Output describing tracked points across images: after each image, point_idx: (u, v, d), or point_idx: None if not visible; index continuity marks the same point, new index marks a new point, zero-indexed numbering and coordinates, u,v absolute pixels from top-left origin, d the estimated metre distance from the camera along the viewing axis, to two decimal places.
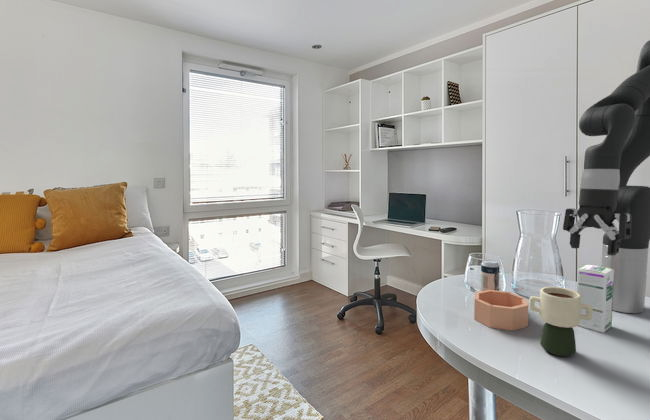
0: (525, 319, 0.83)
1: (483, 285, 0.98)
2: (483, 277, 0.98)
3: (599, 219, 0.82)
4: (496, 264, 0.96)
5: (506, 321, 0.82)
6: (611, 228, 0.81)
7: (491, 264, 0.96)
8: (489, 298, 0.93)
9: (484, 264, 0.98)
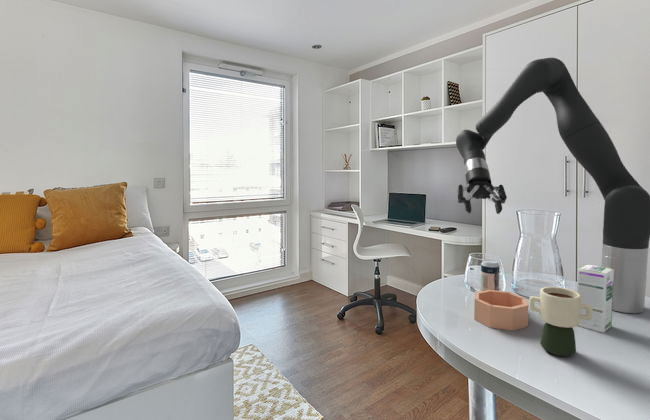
0: (525, 319, 0.83)
1: (483, 285, 0.98)
2: (483, 277, 0.98)
3: None
4: (496, 264, 0.96)
5: (506, 321, 0.82)
6: None
7: (491, 264, 0.96)
8: (489, 298, 0.93)
9: (484, 264, 0.98)
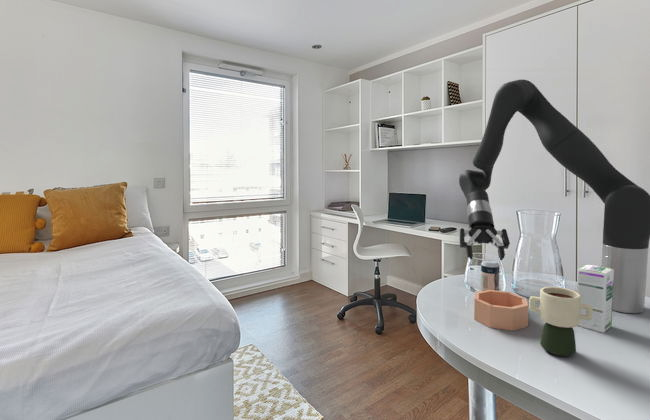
0: (525, 319, 0.83)
1: (483, 285, 0.98)
2: (483, 277, 0.98)
3: None
4: (496, 264, 0.96)
5: (506, 321, 0.82)
6: None
7: (491, 264, 0.96)
8: (489, 298, 0.93)
9: (484, 264, 0.98)
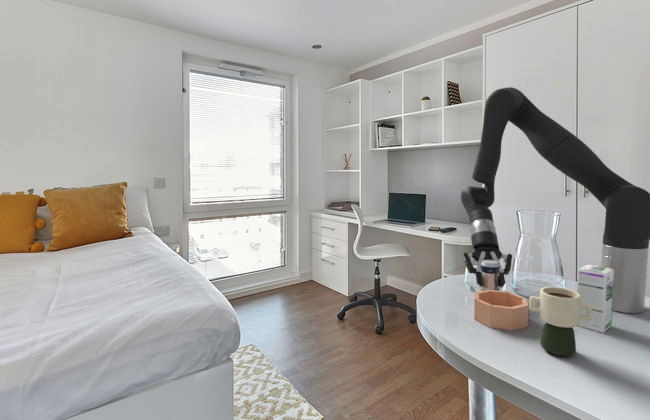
0: (525, 319, 0.83)
1: (483, 285, 0.98)
2: (483, 277, 0.98)
3: None
4: (496, 264, 0.96)
5: (506, 321, 0.82)
6: None
7: (491, 264, 0.96)
8: (489, 298, 0.93)
9: (484, 264, 0.98)
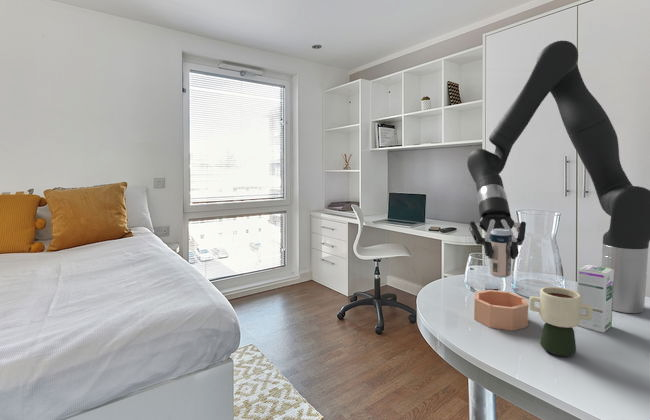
0: (525, 319, 0.83)
1: (493, 257, 0.86)
2: (493, 247, 0.86)
3: None
4: (508, 232, 0.84)
5: (506, 321, 0.82)
6: None
7: (502, 232, 0.84)
8: (489, 298, 0.93)
9: (494, 232, 0.85)
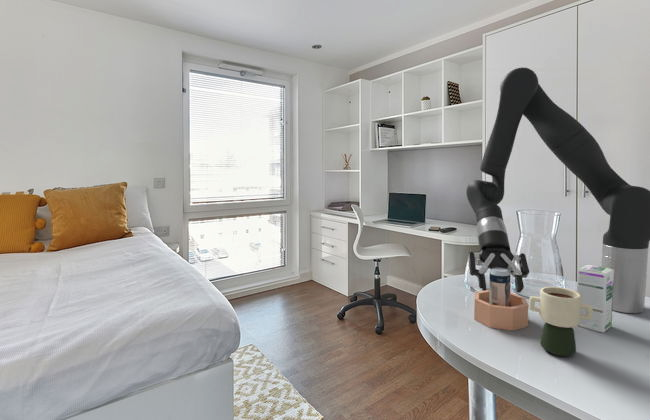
0: (525, 319, 0.83)
1: (492, 296, 0.87)
2: (492, 287, 0.87)
3: None
4: (507, 272, 0.85)
5: (506, 321, 0.82)
6: None
7: (501, 272, 0.85)
8: (489, 298, 0.93)
9: (493, 272, 0.86)
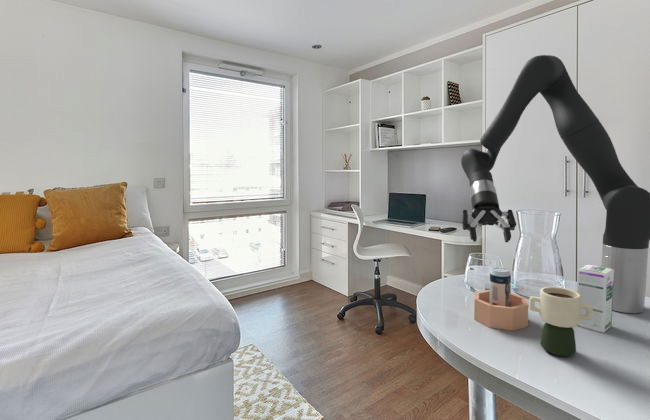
0: (525, 319, 0.83)
1: (492, 297, 0.87)
2: (492, 288, 0.87)
3: None
4: (507, 273, 0.85)
5: (506, 321, 0.82)
6: None
7: (501, 273, 0.85)
8: (489, 298, 0.93)
9: (493, 273, 0.86)
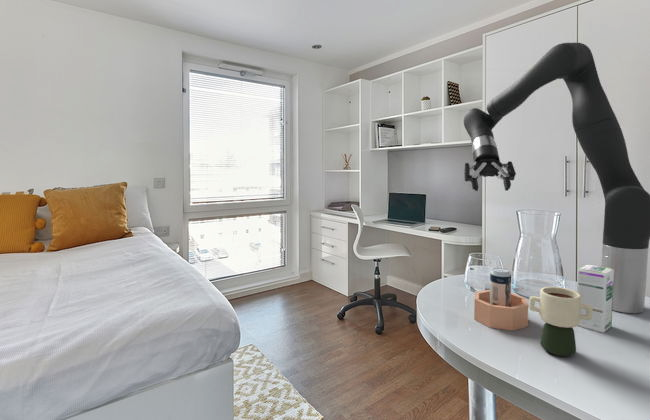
0: (525, 319, 0.83)
1: (492, 297, 0.87)
2: (492, 288, 0.87)
3: None
4: (507, 273, 0.85)
5: (506, 321, 0.82)
6: None
7: (502, 273, 0.85)
8: (489, 298, 0.93)
9: (494, 273, 0.86)
